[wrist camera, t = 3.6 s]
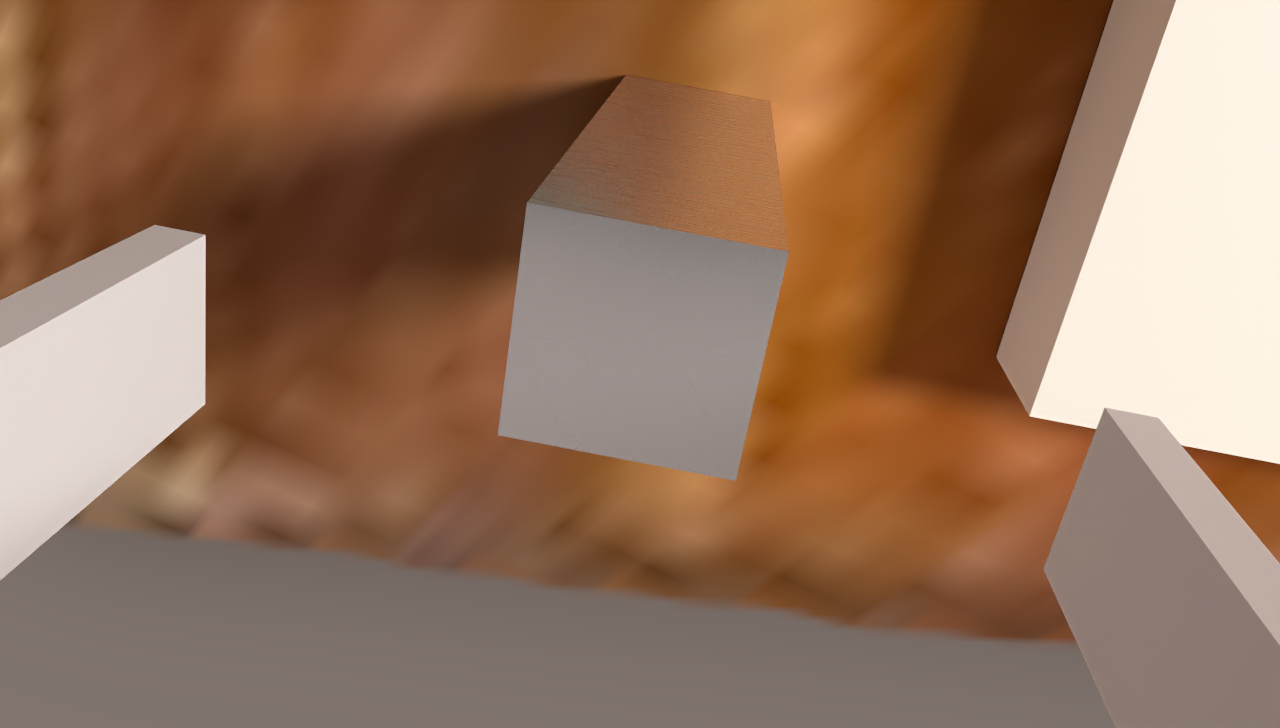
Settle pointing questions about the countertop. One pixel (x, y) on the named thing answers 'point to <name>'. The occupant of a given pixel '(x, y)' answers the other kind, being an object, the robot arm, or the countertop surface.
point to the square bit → (650, 282)
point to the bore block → (1164, 234)
